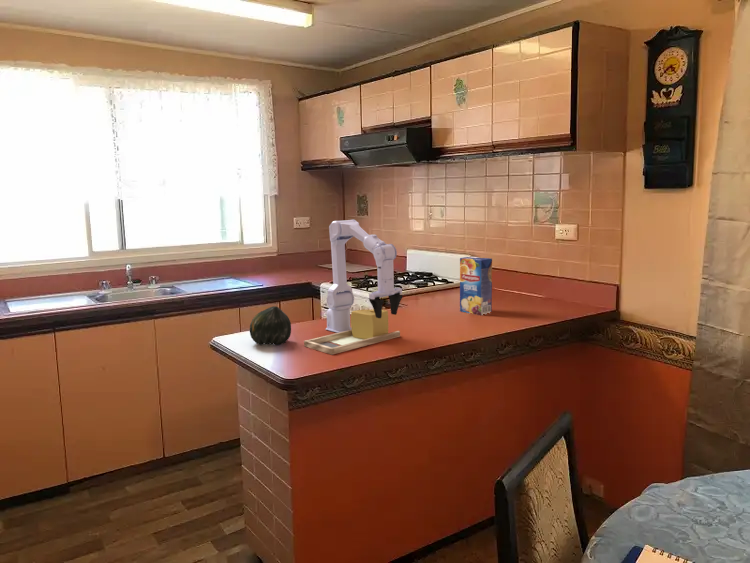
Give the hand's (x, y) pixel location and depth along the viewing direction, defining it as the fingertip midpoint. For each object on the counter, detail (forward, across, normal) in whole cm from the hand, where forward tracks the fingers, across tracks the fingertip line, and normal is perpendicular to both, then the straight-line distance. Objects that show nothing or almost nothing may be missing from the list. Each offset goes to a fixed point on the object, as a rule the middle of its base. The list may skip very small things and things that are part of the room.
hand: (386, 316), depth 218 cm
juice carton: (+11, +64, +9) cm, 65 cm away
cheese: (+10, +3, +12) cm, 16 cm away
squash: (+11, -28, +32) cm, 44 cm away
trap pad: (+10, -17, +12) cm, 23 cm away
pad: (+10, -6, +12) cm, 17 cm away
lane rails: (+10, -5, +12) cm, 17 cm away
